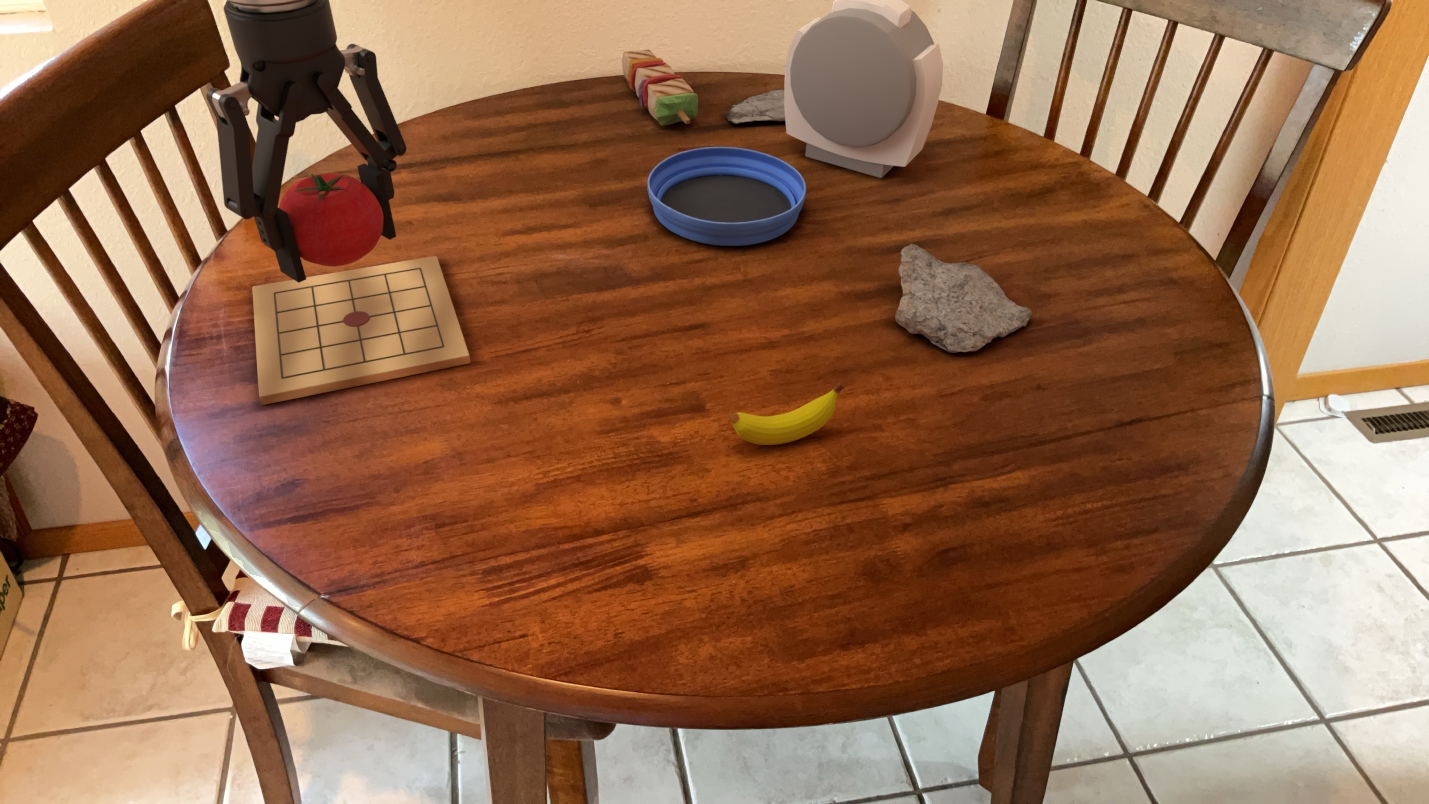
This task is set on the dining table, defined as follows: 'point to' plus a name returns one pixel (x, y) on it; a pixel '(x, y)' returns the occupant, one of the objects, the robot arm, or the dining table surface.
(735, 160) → the bowl
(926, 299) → the rock
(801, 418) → the fruit
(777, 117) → the stone
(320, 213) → the tomato
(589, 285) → the dining table surface
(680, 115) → the skewer
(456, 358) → the board
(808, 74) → the alarm clock
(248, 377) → the dining table surface
